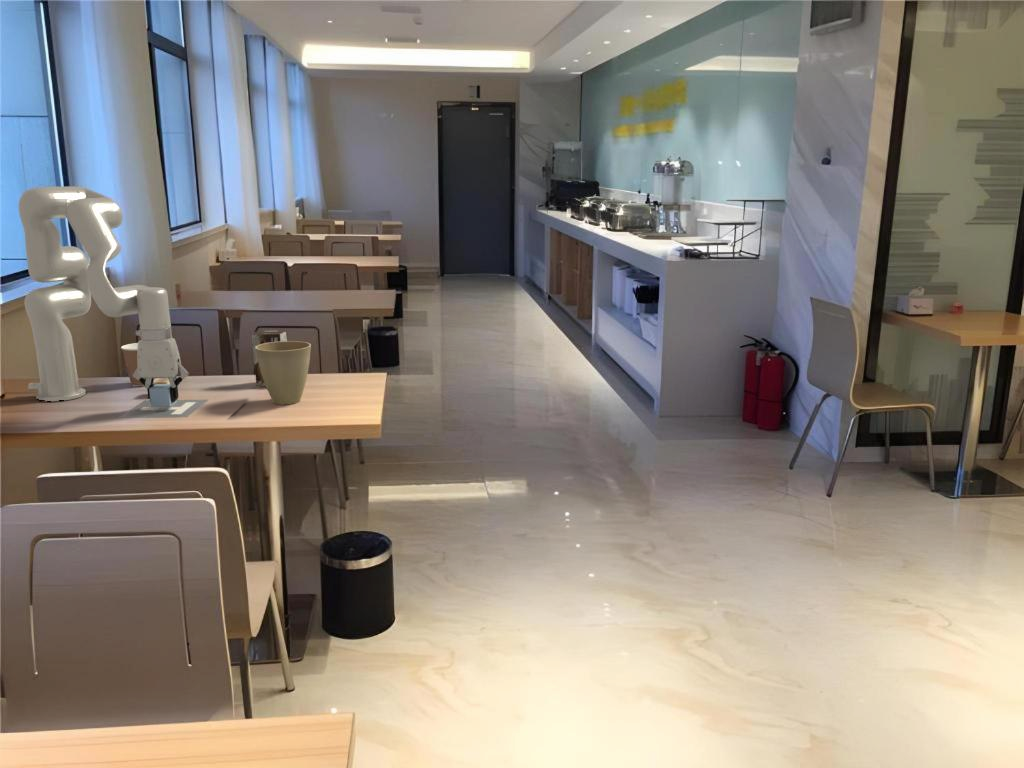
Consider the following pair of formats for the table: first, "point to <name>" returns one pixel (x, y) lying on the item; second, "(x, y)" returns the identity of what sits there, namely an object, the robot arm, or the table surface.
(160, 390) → the blue cube
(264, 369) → the plant pot
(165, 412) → the letter board
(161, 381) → the wood block
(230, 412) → the table surface
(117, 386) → the table surface
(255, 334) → the coffee box
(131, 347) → the coffee cup
